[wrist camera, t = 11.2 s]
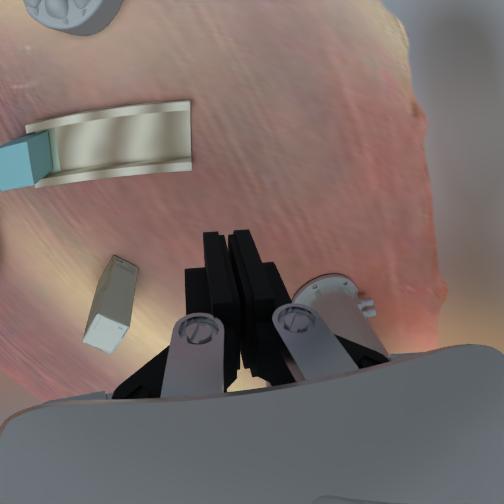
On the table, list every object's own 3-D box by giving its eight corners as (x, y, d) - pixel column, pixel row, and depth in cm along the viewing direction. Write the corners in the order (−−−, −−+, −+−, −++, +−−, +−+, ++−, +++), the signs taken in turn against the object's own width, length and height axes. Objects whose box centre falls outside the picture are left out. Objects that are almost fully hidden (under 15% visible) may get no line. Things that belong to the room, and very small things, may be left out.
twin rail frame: (190, 99, 34) (190, 101, 31) (191, 162, 38) (191, 170, 35) (36, 120, 31) (25, 125, 28) (44, 179, 35) (35, 188, 32)
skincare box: (113, 253, 42) (97, 310, 32) (140, 267, 44) (131, 326, 34) (97, 283, 44) (80, 342, 34) (122, 296, 46) (111, 356, 36)
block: (47, 130, 31) (26, 141, 26) (53, 168, 33) (34, 185, 28) (16, 138, 30) (-7, 150, 25) (22, 174, 32) (1, 191, 27)
